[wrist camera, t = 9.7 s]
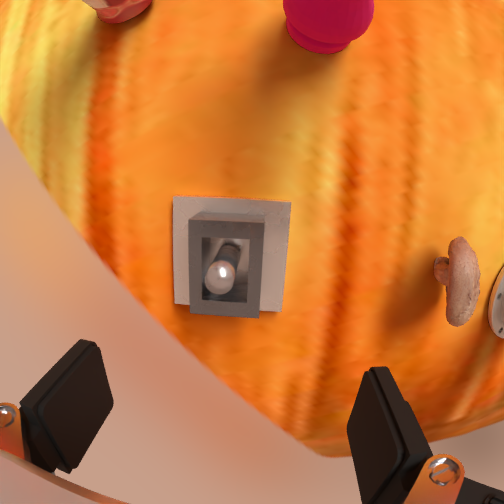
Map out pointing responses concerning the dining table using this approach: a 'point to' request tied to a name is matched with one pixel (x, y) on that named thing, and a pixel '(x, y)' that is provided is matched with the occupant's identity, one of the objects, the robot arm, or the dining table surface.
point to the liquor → (117, 9)
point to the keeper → (233, 247)
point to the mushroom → (459, 281)
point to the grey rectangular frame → (199, 250)
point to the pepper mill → (327, 22)
